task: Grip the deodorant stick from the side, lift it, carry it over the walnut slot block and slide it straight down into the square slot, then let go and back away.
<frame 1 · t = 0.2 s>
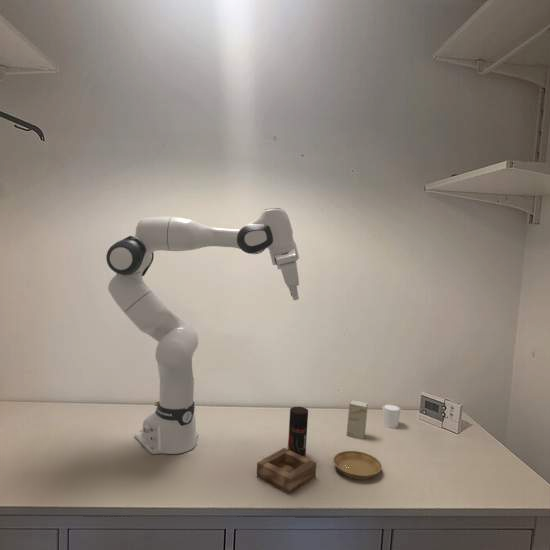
hand: (295, 298, 140), 51 cm above the worktop, tool tilted 15°, fingers open, 8 cm apart
plant saucer: (356, 470, 134), on the worktop
slot block: (286, 476, 128), on the worktop
skincare box: (356, 435, 158), on the worktop
deodorant: (296, 454, 141), on the worktop
white cylinder: (390, 425, 168), on the worktop
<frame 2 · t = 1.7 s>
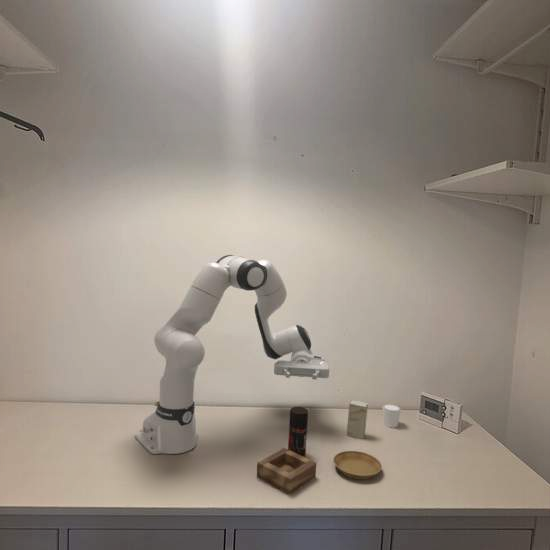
hand: (301, 376, 151), 22 cm above the worktop, tool horizontal, fingers open, 8 cm apart
nothing on the worktop moved.
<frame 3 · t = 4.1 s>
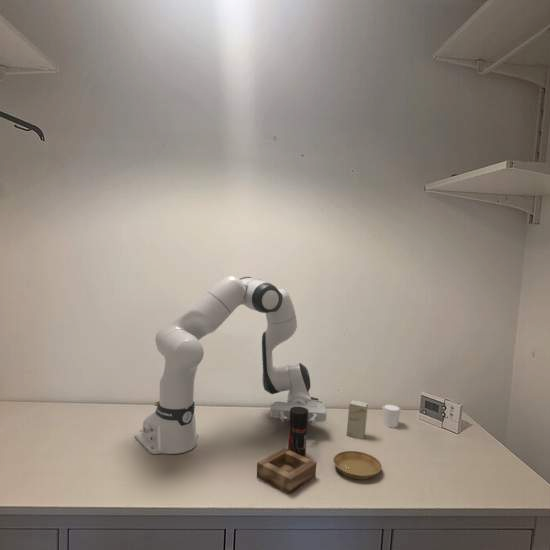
hand: (297, 421, 149), 8 cm above the worktop, tool horizontal, fingers open, 8 cm apart
nothing on the worktop moved.
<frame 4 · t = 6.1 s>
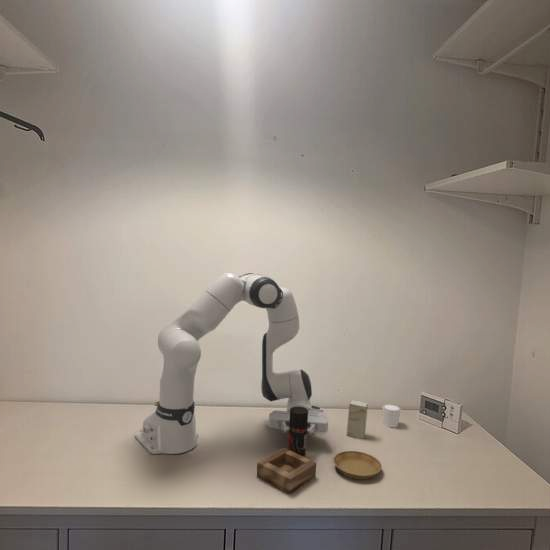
hand: (297, 431, 140), 8 cm above the worktop, tool horizontal, fingers closed on deodorant, 6 cm apart
deodorant: (296, 454, 141), on the worktop, touching gripper
everything else where it was.
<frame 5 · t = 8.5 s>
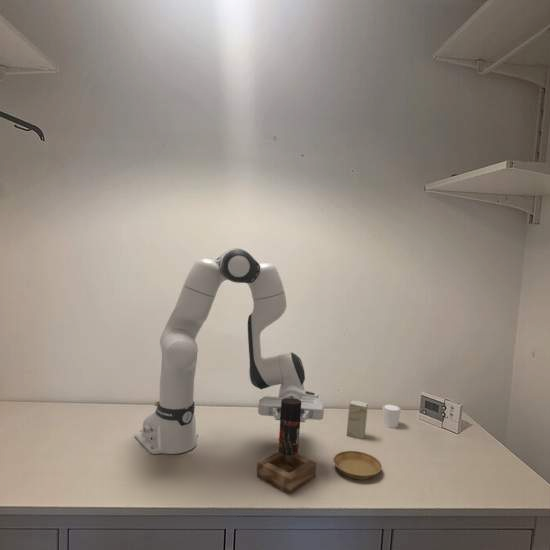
hand: (290, 418, 127), 18 cm above the worktop, tool horizontal, fingers closed on deodorant, 6 cm apart
deodorant: (288, 451, 128), point 7 cm above the worktop, touching gripper
everything else where it was.
when the fingers open (11 cm above the worktop, at t = 10.9 s): deodorant stays where it is, resting on slot block.
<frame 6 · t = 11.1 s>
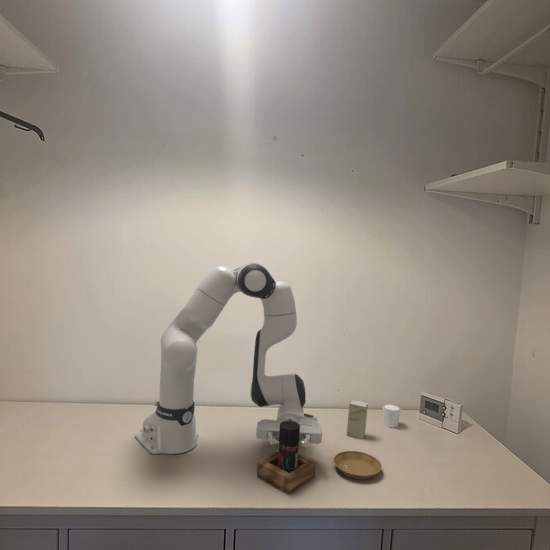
hand: (288, 443, 126), 11 cm above the worktop, tool horizontal, fingers open, 8 cm apart
deodorant: (287, 474, 127), point 1 cm above the worktop, touching slot block
everything else where it was.
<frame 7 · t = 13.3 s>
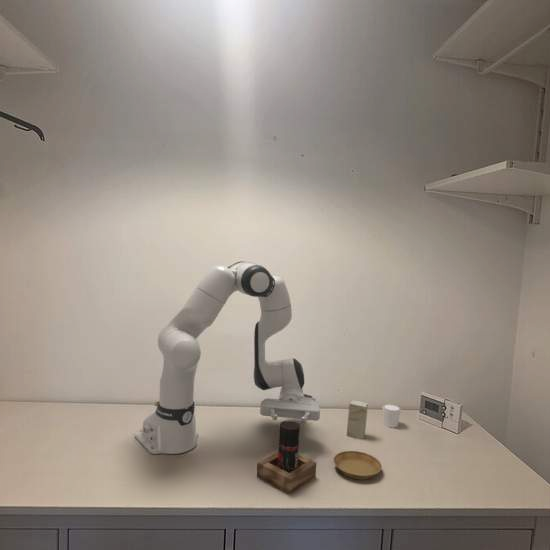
hand: (289, 419, 139), 12 cm above the worktop, tool horizontal, fingers open, 8 cm apart
nothing on the worktop moved.
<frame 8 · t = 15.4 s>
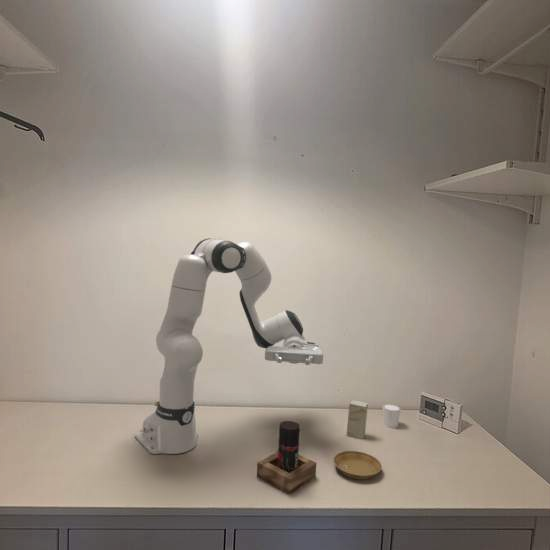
hand: (293, 361, 143), 30 cm above the worktop, tool horizontal, fingers open, 8 cm apart
nothing on the worktop moved.
at the end: deodorant 0.5 cm off-centre on the slot block, point 1.0 cm above the slot block's base; deodorant tilted 0°; the gripper is holding nothing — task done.
